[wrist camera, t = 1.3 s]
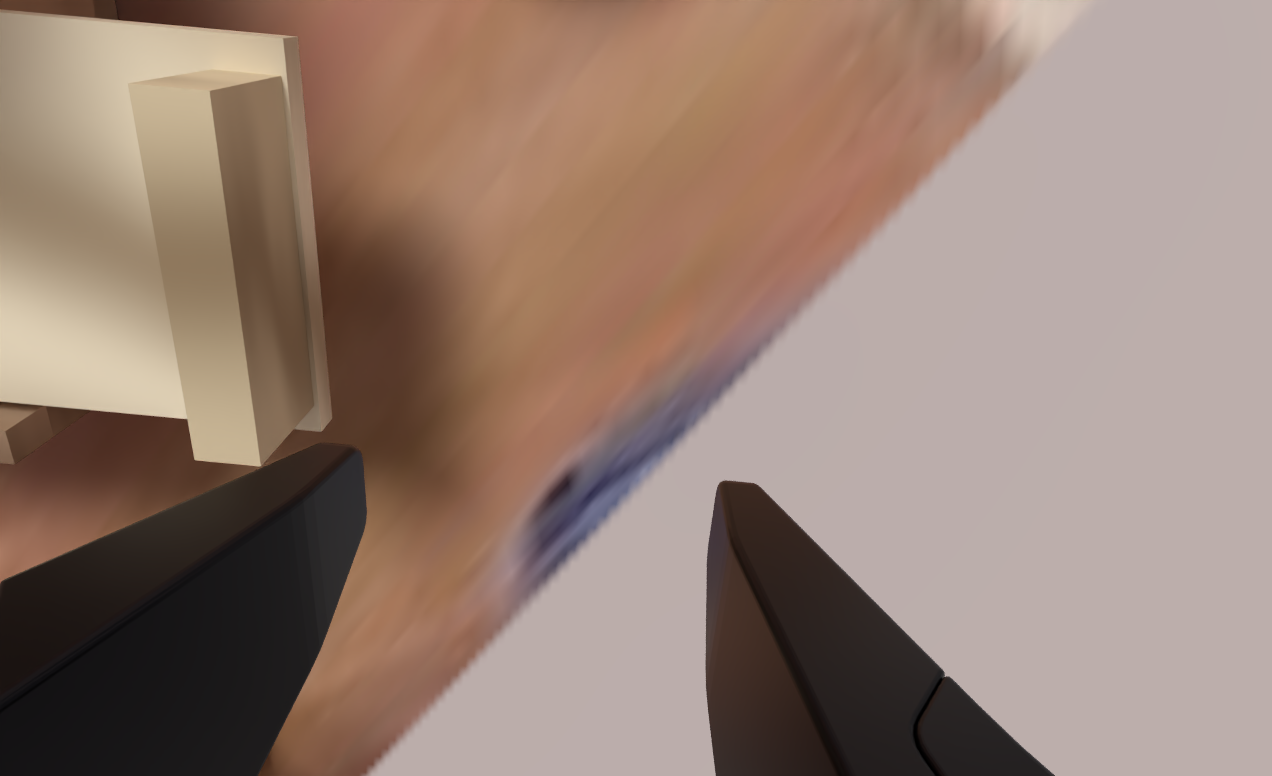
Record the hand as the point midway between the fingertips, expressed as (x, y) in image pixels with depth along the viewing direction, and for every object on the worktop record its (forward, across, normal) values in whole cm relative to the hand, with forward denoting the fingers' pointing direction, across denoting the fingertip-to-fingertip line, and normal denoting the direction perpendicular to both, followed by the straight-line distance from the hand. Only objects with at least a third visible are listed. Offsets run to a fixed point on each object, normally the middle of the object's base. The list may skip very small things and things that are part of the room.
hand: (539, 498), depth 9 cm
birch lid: (+8, +11, 0) cm, 14 cm away
